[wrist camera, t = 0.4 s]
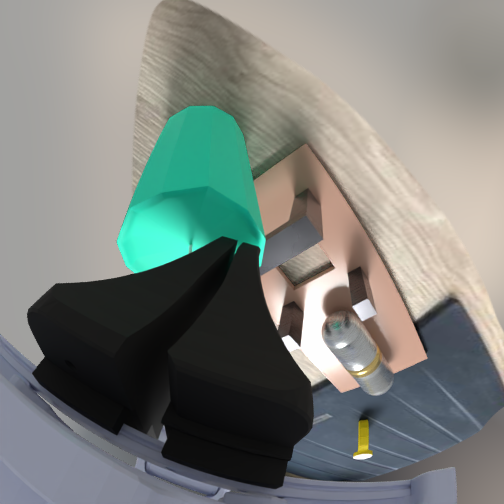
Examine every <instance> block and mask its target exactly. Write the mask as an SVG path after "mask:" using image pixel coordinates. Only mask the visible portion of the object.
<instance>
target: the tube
mask: <svg viewBox="0 0 504 504" xmlns="http://www.w3.org/2000/svg"><path fill="white" fill-rule="evenodd" d="M321 334H322V339H323V342H324V343H325V345H326V346H327V347H328V348H329V350H330V351H331V352H332V353H333V354H334V356H335V357H336V358H337V359H338V360H339V362H340V363H341V364H342V365H343V367H344V368H345V369H346V371H347V372H348V373H349V374H350V375H351V376H352V377H353V378H354V379H355V381H356V382H357V383H358V384H359V385H360V387H361V388H362V389H363V390H364V391H365V392H366V393H367V394H370V395H373V396H377V395H382V394H384V393H385V392H387V391H388V390H389V389H390V388H391V386H392V384H393V381H394V373H393V370H392V368H391V367H390V365H389V364H388V362H387V360H386V359H385V357H384V356H383V354H382V352H381V350H380V348H379V347H378V345H377V344H376V342H375V341H374V340H373V338H372V337H371V335H370V333H369V332H368V330H367V329H366V327H365V326H364V324H363V323H362V321H361V320H360V318H359V317H358V316H357V315H356V314H354V313H353V312H350V311H346V310H340V311H336V312H334V313H332V314H331V315H329V316H328V317H327V318H326V320H325V321H324V323H323V326H322V330H321Z"/></svg>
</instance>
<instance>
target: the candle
mask: <svg viewBox="0 0 504 504" xmlns="http://www.w3.org/2000/svg"><path fill="white" fill-rule="evenodd" d="M222 236H224V237H228V238H231V239H235V240H238V242H237V246H236V251H237V249H238V247H239V246H240V245H241V244H242V243H243V242H245V243H248V244H252V245H255V246H258V247H259V248H260V250H261V251H260V255H259V267H260V266H261V263H262V258H263V252H264V247H265V241H266V238H265V233H264V229H263V224H262V219H261V214H260V210H259V205H258V200H257V195H256V191H255V186H254V181H253V177H252V172H251V167H250V163H249V158H248V154H247V149H246V145H245V140H244V136H243V133H242V131H241V130H240V128H239V126H238V124H237V123H236V121H235V119H234V117H233V116H231V115H229V114H228V113H226V112H224V111H222V110H220V109H218V108H217V107H215V106H189V107H187V108H185V109H184V110H182V111H180V112H178V113H177V114H175V115H173V116H172V117H170V118H169V120H168V122H167V123H166V125H165V127H164V129H163V131H162V133H161V134H160V136H159V138H158V140H157V143H156V145H155V147H154V149H153V151H152V153H151V155H150V157H149V160H148V162H147V164H146V166H145V169H144V171H143V173H142V175H141V178H140V180H139V183H138V185H137V187H136V190H135V192H134V195H133V197H132V200H131V203H130V205H129V208H128V211H127V213H126V216H125V219H124V222H123V224H122V227H121V231H120V233H119V236H118V239H117V245H118V247H119V250H120V252H121V255H122V257H123V259H124V262H125V264H126V266H127V267H128V268H129V269H130V270H131V271H133V272H134V273H138V272H142V271H146V270H149V269H152V268H155V267H158V266H161V265H164V264H166V263H169V262H171V261H173V260H176V259H178V258H180V257H182V256H185V255H187V254H189V253H191V252H193V251H195V250H197V249H199V248H201V247H203V246H205V245H206V244H208V243H210V242H212V241H214V240H216V239H218V238H220V237H222ZM236 251H235V253H236Z"/></svg>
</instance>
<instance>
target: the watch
mask: <svg viewBox="0 0 504 504" xmlns="http://www.w3.org/2000/svg"><path fill="white" fill-rule="evenodd" d="M368 444H369V425H368V420H359V436H358V451H357V452H355V453H354V454H353V458H354V459H366V458H369V457H371V456H372V451H371V450H368Z"/></svg>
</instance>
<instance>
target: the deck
mask: <svg viewBox="0 0 504 504" xmlns="http://www.w3.org/2000/svg"><path fill="white" fill-rule="evenodd" d="M254 186H255V191H256V195H257V200H258V205H259V210H260V214H261V219H262V224H263V229H264V233H265V235H267V234H269V233H270V232H272V231H273V230H275V229H276V228H278V227H279V226H281V225H283V224H284V223H286V222H287V221H289V217H290V213H291V209H292V205H293V201H294V197H295V196H297V195H298V194H300V193H301V192H303V191H304V190H306V189H307V188H309V190H310V191H311V192H312V194H313V195H314V197H315V198H316V199H317V201H318V202H319V204H320V205H321V211H322V225H323V240H322V241H320V242H319V243H318V244H319V245H320V247H321V248H322V250H323V251H324V253H325V254H326V255H327V257H328V258H329V260H330V261H331V263H332V264H333V266H332V267H330V268H328V269H326V270H324V271H322V272H321V273H319V274H317V275H315V276H313V277H311V278H309V279H308V280H306V281H304V282H302V283H300V284H298V285H296V286H294V285H293V284H292V283H291V281H290V280H289V279H288V278H287V276H286V275H285V274H284V273H283V271H282V270H281V269H280V268H279V266H277V267H276V268H274V269H272V270H270V271H269V272H267V273H265V274H263V275H262V276H261V283H262V288H263V292H264V296H265V300H266V303H267V306H268V309H269V312H270V314H271V317H272V319H273V320H274V321H275V323H276V324H277V325H278V326H279V322H280V317H281V312H282V307H283V306H284V305H286V304H288V303H290V302H292V301H295V302H296V304H297V305H298V306H299V307H300V309H301V310H302V311H303V312H304V319H303V329H302V338H301V347H300V348H299V349H300V350H301V351H302V352H303V353H304V354H305V355H306V356H307V357H308V358H309V359H310V360H311V361H312V362H313V364H314V365H315V366H316V367H317V368H318V369H319V370H320V371H321V372H322V373H323V374H324V375H325V376H326V377H327V378H328V379H329V380H330V381H331V382H332V384H333V385H334V386H335V387H336V388H337V389H338V390H339V391H340V392H341V393H342V392H345V391H348V390H351V389H354V388H357V387H360V385H359V384H358V383H357V382H356V381H355V379H354V378H353V377H352V376H351V375H350V374H349V373H348V372H347V371H346V369H345V368H344V367H343V365H342V364H341V363H340V362H339V360H338V359H337V358H336V357H335V356H334V354H333V353H332V352H331V351H330V350H329V348H328V347H327V346H326V345H325V343H324V342H323V339H322V334H321V330H322V326H323V323H324V321H325V320H326V318H327V317H328V316H329V315H331V314H332V313H334V312H336V311H340V310H346V311H350V312H353V313H354V314H356V315H357V316H358V314H357V313H356V311H355V310H354V308H353V307H352V301H351V294H350V287H349V280H348V274H347V273H349V272H350V271H352V270H354V269H356V268H358V267H360V266H361V268H362V270H363V271H364V273H365V275H366V276H367V278H368V280H369V283H370V286H371V290H372V294H373V299H374V303H375V307H376V312H377V314H376V315H374V316H372V317H370V318H368V319H366V320H364V321H362V323H363V324H364V326H365V327H366V329H367V330H368V332H369V333H370V335H371V337H372V338H373V340H374V341H375V342H376V344H377V345H378V347H379V348H380V350H381V352H382V354H383V356H384V357H385V359H386V360H387V362H388V364H389V365H390V367H391V368H392V370H393V373H396V372H398V371H401V370H403V369H405V368H407V367H410V366H412V365H414V364H416V363H418V362H420V361H423V360H425V359H427V355H426V352H425V350H424V347H423V345H422V342H421V340H420V338H419V335H418V333H417V331H416V328H415V326H414V324H413V322H412V319H411V317H410V315H409V313H408V311H407V309H406V307H405V304H404V302H403V300H402V298H401V296H400V294H399V292H398V290H397V288H396V286H395V284H394V282H393V280H392V278H391V276H390V274H389V273H388V271H387V269H386V267H385V265H384V263H383V261H382V260H381V258H380V256H379V254H378V252H377V251H376V249H375V247H374V245H373V244H372V242H371V240H370V238H369V237H368V235H367V233H366V232H365V230H364V228H363V227H362V225H361V223H360V222H359V220H358V218H357V217H356V215H355V214H354V212H353V210H352V209H351V207H350V206H349V204H348V202H347V201H346V199H345V198H344V196H343V195H342V193H341V192H340V190H339V189H338V187H337V186H336V184H335V183H334V181H333V180H332V178H331V177H330V175H329V174H328V173H327V171H326V170H325V168H324V167H323V165H322V164H321V163H320V161H319V160H318V158H317V157H316V156H315V154H314V153H313V152H312V150H311V149H310V148H309V146H308V145H307V144H306V143H305V144H304V145H302V146H301V147H300V148H298V149H297V150H295V151H294V152H292V153H291V154H289V155H288V156H287V157H285V158H284V159H282V160H281V161H280V162H278V163H277V164H275V165H274V166H273V167H271V168H270V169H269V170H267V171H266V172H264V173H263V174H262V175H260V176H259V177H258V178H256V179H255V180H254ZM358 317H359V316H358ZM359 318H360V317H359ZM360 320H361V319H360Z"/></svg>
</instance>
